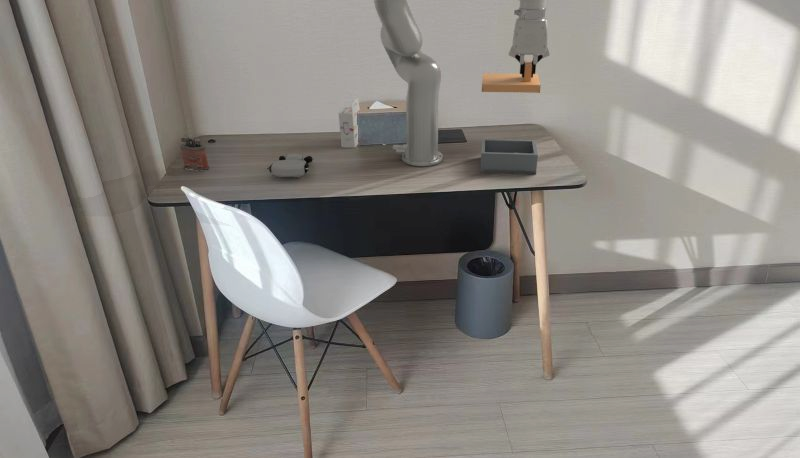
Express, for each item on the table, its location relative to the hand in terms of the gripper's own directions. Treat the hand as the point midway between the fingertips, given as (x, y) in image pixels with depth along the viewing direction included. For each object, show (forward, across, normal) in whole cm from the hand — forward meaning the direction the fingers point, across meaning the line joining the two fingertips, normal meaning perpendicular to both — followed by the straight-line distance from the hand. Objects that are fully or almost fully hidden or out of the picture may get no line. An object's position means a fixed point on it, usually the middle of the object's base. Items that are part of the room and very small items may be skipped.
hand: (527, 76), depth 187 cm
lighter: (+22, -99, -29) cm, 106 cm away
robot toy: (+22, -69, -29) cm, 78 cm away
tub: (+22, -5, -19) cm, 30 cm away
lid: (+3, -5, 0) cm, 6 cm away
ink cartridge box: (+22, -56, -4) cm, 60 cm away
